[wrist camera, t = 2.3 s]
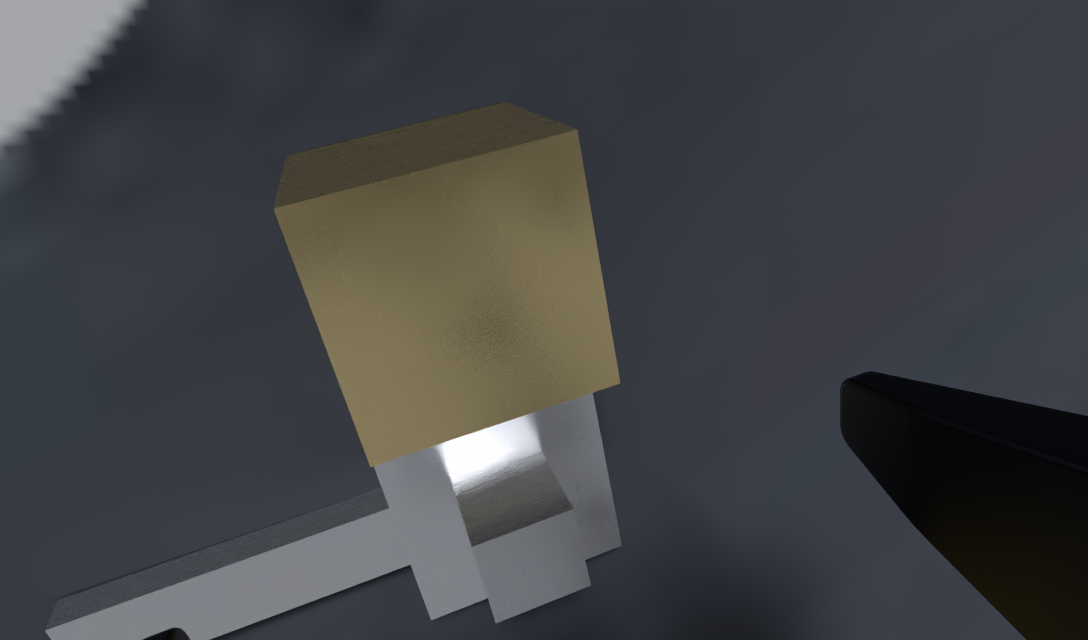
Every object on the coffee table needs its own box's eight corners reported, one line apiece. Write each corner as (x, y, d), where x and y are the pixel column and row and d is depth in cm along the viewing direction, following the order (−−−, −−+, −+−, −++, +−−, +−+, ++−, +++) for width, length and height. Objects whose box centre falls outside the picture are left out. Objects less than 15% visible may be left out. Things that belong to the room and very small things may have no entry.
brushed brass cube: (505, 101, 19) (577, 129, 14) (546, 296, 22) (620, 383, 16) (286, 156, 18) (273, 208, 13) (356, 354, 21) (370, 467, 15)
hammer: (573, 359, 23) (629, 427, 19) (605, 519, 26) (659, 607, 22) (18, 542, 20) (-55, 671, 16) (129, 701, 23) (91, 843, 19)
